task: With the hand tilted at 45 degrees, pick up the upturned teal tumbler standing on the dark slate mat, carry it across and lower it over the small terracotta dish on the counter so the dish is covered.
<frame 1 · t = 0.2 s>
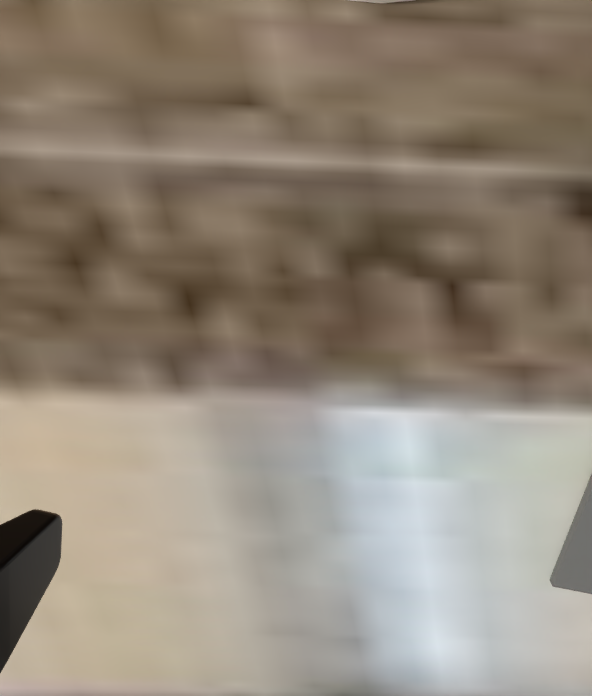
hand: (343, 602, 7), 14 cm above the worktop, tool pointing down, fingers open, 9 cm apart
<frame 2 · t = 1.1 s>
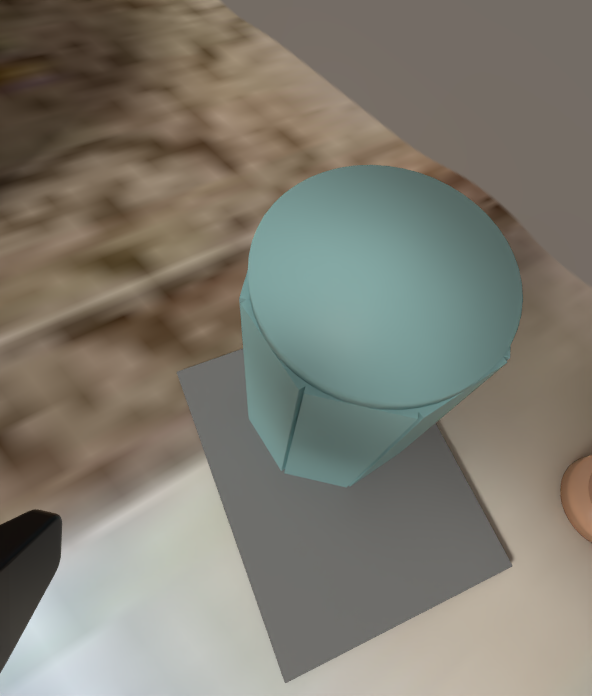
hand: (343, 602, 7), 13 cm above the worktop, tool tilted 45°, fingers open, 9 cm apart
tumbler: (329, 404, 22), resting on mat
mat: (333, 465, 22), on the worktop
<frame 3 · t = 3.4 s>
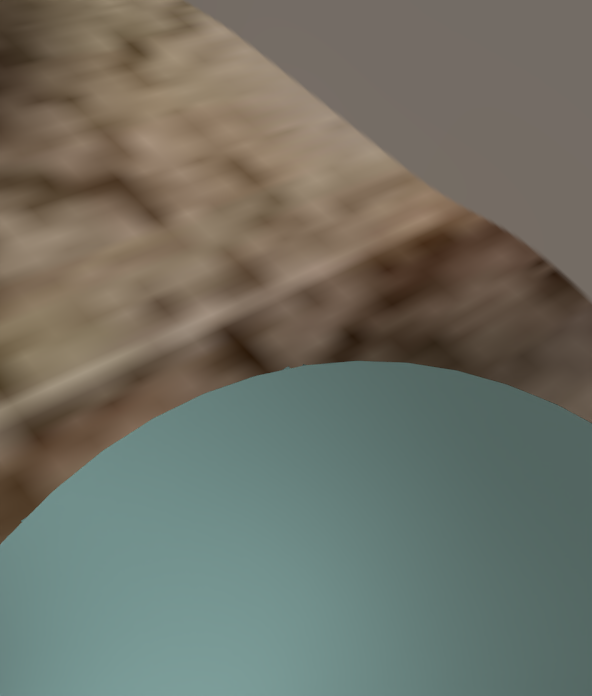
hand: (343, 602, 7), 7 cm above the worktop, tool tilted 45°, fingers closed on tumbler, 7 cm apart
tumbler: (295, 648, 13), resting on mat, touching gripper
when the fingers open (8 cm above the worktop, at t = 6.5 s): tumbler drops 1 cm, on the worktop.
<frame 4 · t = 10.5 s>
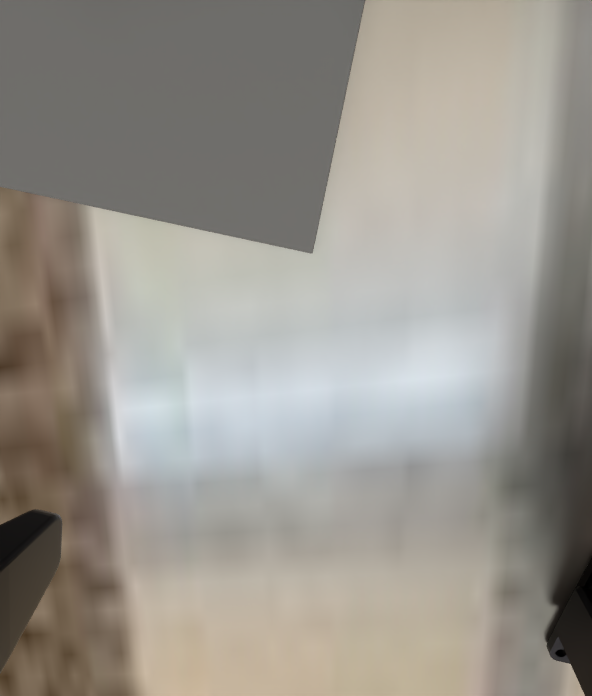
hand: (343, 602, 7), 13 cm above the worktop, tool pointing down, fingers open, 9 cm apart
mat: (159, 70, 17), on the worktop
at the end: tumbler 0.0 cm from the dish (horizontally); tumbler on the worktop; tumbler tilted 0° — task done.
